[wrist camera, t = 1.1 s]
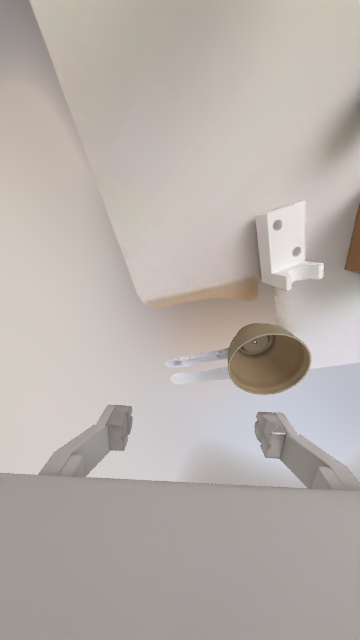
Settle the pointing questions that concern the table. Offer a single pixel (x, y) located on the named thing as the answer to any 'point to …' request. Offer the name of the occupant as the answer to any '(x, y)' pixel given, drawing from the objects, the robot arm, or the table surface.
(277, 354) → the planter bowl
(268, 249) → the bracket
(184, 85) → the table surface
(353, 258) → the carton
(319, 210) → the table surface
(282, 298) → the table surface
